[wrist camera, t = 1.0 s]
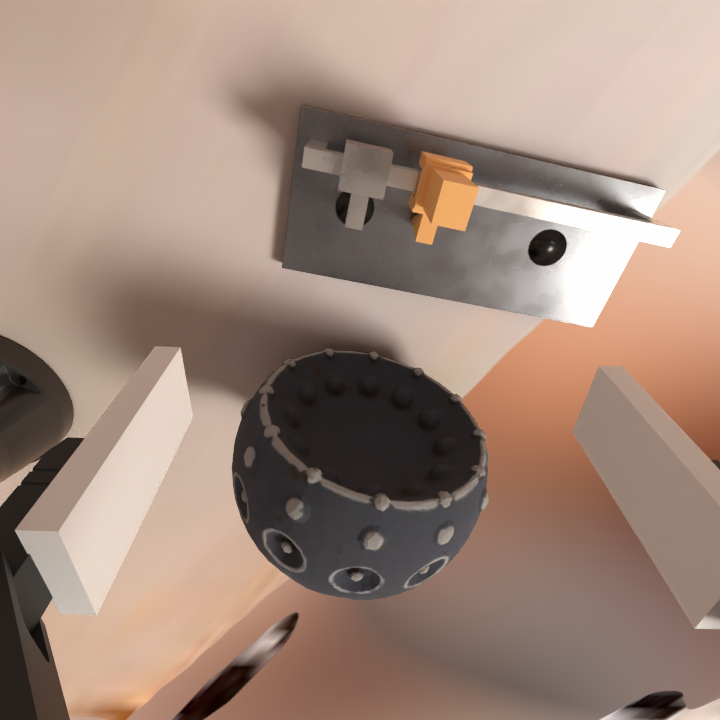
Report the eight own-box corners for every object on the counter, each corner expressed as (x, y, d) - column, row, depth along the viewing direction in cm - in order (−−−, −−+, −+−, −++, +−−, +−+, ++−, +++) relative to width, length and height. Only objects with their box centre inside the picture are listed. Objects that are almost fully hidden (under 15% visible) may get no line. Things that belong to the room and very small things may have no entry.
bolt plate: (283, 263, 38) (281, 268, 37) (302, 104, 32) (301, 105, 31) (587, 322, 41) (592, 327, 40) (658, 187, 35) (666, 190, 34)
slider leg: (397, 224, 35) (409, 269, 27) (416, 145, 32) (437, 168, 24) (434, 231, 35) (457, 278, 27) (456, 154, 32) (491, 180, 24)
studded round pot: (269, 319, 41) (205, 488, 24) (473, 365, 44) (545, 546, 27) (253, 409, 46) (192, 598, 29) (435, 445, 49) (476, 637, 32)
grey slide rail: (304, 200, 35) (293, 222, 30) (314, 125, 33) (305, 134, 27) (606, 264, 38) (649, 295, 33) (639, 199, 35) (692, 221, 30)
